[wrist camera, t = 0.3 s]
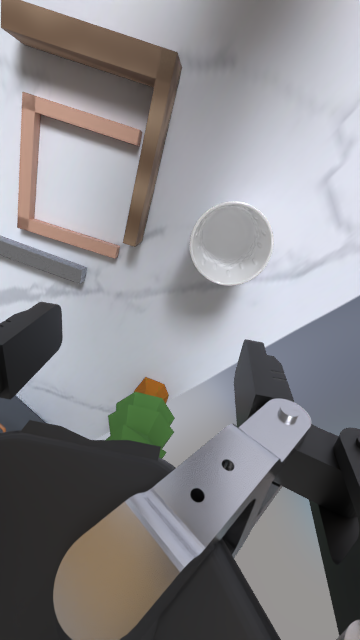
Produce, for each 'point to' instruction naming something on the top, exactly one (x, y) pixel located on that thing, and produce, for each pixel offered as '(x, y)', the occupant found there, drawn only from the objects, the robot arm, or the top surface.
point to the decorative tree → (143, 416)
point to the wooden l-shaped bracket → (117, 59)
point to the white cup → (231, 243)
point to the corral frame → (29, 161)
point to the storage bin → (15, 415)
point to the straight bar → (42, 260)
